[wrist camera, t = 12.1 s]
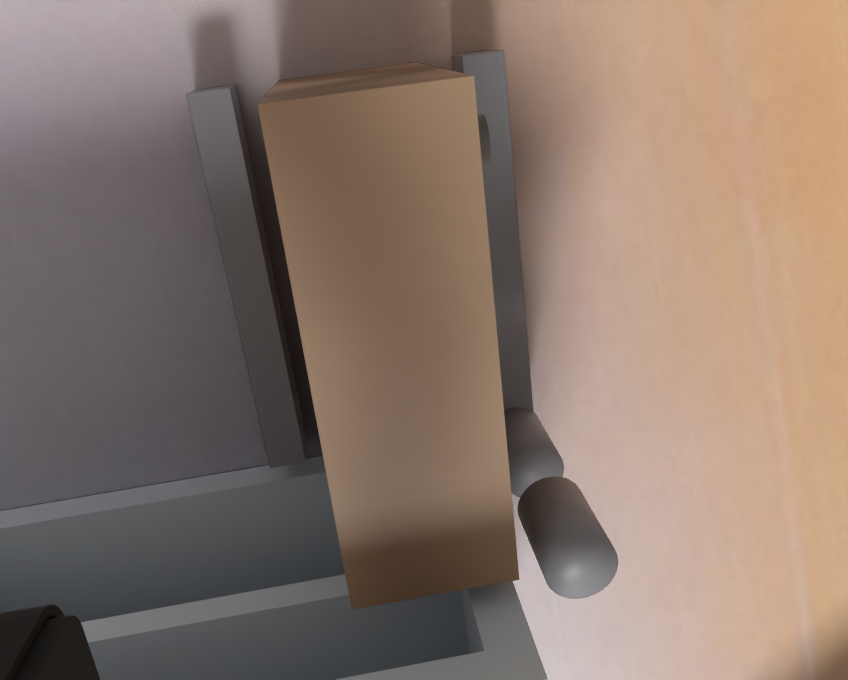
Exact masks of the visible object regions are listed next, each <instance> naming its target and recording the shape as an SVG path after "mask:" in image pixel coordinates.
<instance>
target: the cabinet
mask: <svg viewBox="0 0 848 680" xmlns="http://www.w3.org/2000/svg"><path fill="white" fill-rule="evenodd" d="M452 57H453V66H454V71H456V72H460V73H464V74H469V75H473V76H474V82H475V93H476V104H477V115H480V114H484V116H485V118H486V121H487V124H488V129H489V136H490V148H491V154H490V161H489V163H483V164H482V171H483V182H484V193H485V204H486V215H487V227H488V238H489V249H490V260H491V271H492V282H493V293H494V305H495V316H496V327H497V338H498V349H499V360H500V371H501V383H502V394H503V405H504V416H505V427H506V438H507V449H508V461H509V472H510V483H511V493H513V494H514V495H516V496H518V497H520V500H519V503H518V515H519V518H520V521H521V523H522V525H523V528H524V530H525V533H526V535H527V537H528V540H529V542H530V544H531V547H532V549H533V551H534V554H535V556H536V559H537V561H538V563H539V566H540V568H541V570H542V573H543V575H544V577H545V580H546V582H547V584H548V586H549V587H550V588H551V589H552V590H553V591H554V592H555V593H556V594H558V595H560V596H563V597H566V598H572V599H579V598H585V597H589V596H591V595H594V594H596V593H598V592H599V591H601V590H602V589H604V588H605V587H606V586H607V585H608V584H609V583H610V582H611V580H612V579H613V577H614V575H615V573H616V570H617V566H618V557H617V553H616V551H615V549H614V547H613V546H612V544H611V542H610V540H609V539H608V537H607V535H606V534H605V532H604V530H603V528H602V527H601V525H600V523H599V522H598V520H597V518H596V516H595V515H594V513H593V511H592V510H591V508H590V506H589V504H588V503H587V501H586V499H585V498H584V496H583V494H582V492H581V491H580V489H579V488H578V486H577V485H576V484H575V483H573V482H572V481H570V480H569V479H566V478H563V477H562V476H563V472H564V465H563V461H562V458H561V456H560V455H559V453H558V451H557V450H556V448H555V446H554V444H553V443H552V441H551V439H550V438H549V436H548V434H547V432H546V431H545V429H544V427H543V426H542V424H541V422H540V420H539V419H538V417H537V415H536V414H535V413H534V412H533V403H532V391H531V379H530V366H529V354H528V342H527V330H526V318H525V305H524V293H523V281H522V269H521V257H520V244H519V232H518V220H517V208H516V196H515V183H514V171H513V159H512V147H511V135H510V122H509V110H508V98H507V86H506V73H505V61H504V51H499V50H487V51H480V52H472V53H465V54H458V55H452ZM186 96H187V101H188V105H189V110H190V114H191V119H192V123H193V127H194V132H195V136H196V141H197V145H198V150H199V154H200V159H201V163H202V168H203V172H204V177H205V181H206V186H207V190H208V194H209V199H210V203H211V208H212V212H213V217H214V221H215V226H216V230H217V235H218V239H219V244H220V248H221V253H222V257H223V261H224V266H225V270H226V275H227V279H228V284H229V288H230V293H231V297H232V302H233V306H234V311H235V315H236V320H237V324H238V328H239V333H240V337H241V342H242V346H243V351H244V355H245V360H246V364H247V369H248V373H249V378H250V382H251V387H252V391H253V395H254V400H255V404H256V409H257V413H258V418H259V422H260V427H261V431H262V436H263V440H264V445H265V449H266V453H267V458H268V462H269V465H266V466H261V467H255V468H249V469H243V470H237V471H231V472H225V473H220V474H214V475H208V476H202V477H196V478H190V479H185V480H179V481H173V482H167V483H161V484H155V485H149V486H144V487H138V488H132V489H126V490H120V491H114V492H109V493H103V494H97V495H91V496H85V497H79V498H74V499H68V500H62V501H56V502H50V503H44V504H38V505H33V506H27V507H21V508H15V509H9V510H3V511H0V613H2V612H8V611H14V610H20V609H26V608H32V607H39V606H45V605H51V604H52V605H56V606H58V607H59V608H60V610H61V611H62V612H63V614H64V616H70V615H73V616H76V617H77V618H78V619H79V620H80V622H81V624H82V626H83V629H84V632H85V635H86V638H87V641H88V644H89V647H90V650H91V653H92V656H93V659H94V662H95V665H96V668H97V671H98V674H99V677H100V680H548V679H547V676H546V673H545V670H544V668H543V665H542V662H541V659H540V657H539V654H538V651H537V648H536V645H535V643H534V640H533V637H532V634H531V632H530V629H529V626H528V623H527V620H526V618H525V615H524V612H523V609H522V607H521V604H520V601H519V598H518V595H517V593H516V590H515V587H514V584H513V582H512V581H509V582H503V583H498V584H492V585H487V586H481V587H475V588H470V589H464V590H459V591H453V592H448V593H442V594H437V595H431V596H425V597H420V598H414V599H409V600H403V601H398V602H392V603H386V604H381V605H375V606H370V607H364V608H359V609H353V610H352V609H351V603H350V598H349V593H348V587H347V582H346V577H345V571H344V566H343V560H342V555H341V550H340V544H339V539H338V534H337V528H336V523H335V518H334V512H333V507H332V502H331V496H330V491H329V486H328V480H327V475H326V470H325V464H324V459H323V456H319V457H313V458H307V459H306V438H307V437H306V432H305V427H304V422H303V417H302V412H301V407H300V402H299V397H298V392H297V388H296V383H295V378H294V373H293V368H292V363H291V358H290V353H289V348H288V343H287V338H286V333H285V328H284V323H283V318H282V313H281V308H280V303H279V298H278V293H277V288H276V283H275V278H274V273H273V268H272V263H271V258H270V253H269V248H268V243H267V238H266V233H265V228H264V223H263V219H262V214H261V209H260V204H259V199H258V194H257V189H256V184H255V179H254V174H253V169H252V164H251V159H250V154H249V149H248V144H247V139H246V134H245V129H244V124H243V119H242V114H241V109H240V104H239V99H238V94H237V89H236V85H230V86H223V87H216V88H208V89H201V90H195V91H192V92H190V93H188V94H186Z"/></svg>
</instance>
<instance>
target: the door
mask: <svg viewBox="0 0 848 680" xmlns="http://www.w3.org/2000/svg"><path fill="white" fill-rule="evenodd" d="M257 106H258V111H259V116H260V122H261V127H262V133H263V138H264V143H265V149H266V154H267V159H268V165H269V170H270V175H271V181H272V186H273V191H274V197H275V202H276V207H277V213H278V218H279V223H280V229H281V234H282V240H283V245H284V250H285V256H286V261H287V266H288V272H289V277H290V282H291V288H292V293H293V298H294V304H295V309H296V314H297V320H298V325H299V330H300V336H301V341H302V346H303V352H304V357H305V363H306V368H307V373H308V379H309V384H310V389H311V395H312V400H313V405H314V411H315V416H316V421H317V427H318V432H319V437H320V443H321V448H322V453H323V459H324V464H325V470H326V475H327V480H328V486H329V491H330V496H331V502H332V507H333V512H334V518H335V523H336V528H337V534H338V539H339V544H340V550H341V555H342V560H343V566H344V571H345V577H346V582H347V587H348V593H349V598H350V603H351V609H352V610H353V609H359V608H364V607H370V606H375V605H381V604H386V603H392V602H398V601H403V600H409V599H414V598H420V597H425V596H431V595H437V594H442V593H448V592H453V591H459V590H464V589H470V588H475V587H481V586H487V585H492V584H498V583H503V582H509V581H514V580H519V572H518V561H517V550H516V539H515V527H514V516H513V505H512V494H511V483H510V472H509V461H508V449H507V438H506V427H505V416H504V405H503V394H502V383H501V371H500V360H499V349H498V338H497V327H496V316H495V305H494V293H493V282H492V271H491V260H490V249H489V238H488V227H487V215H486V204H485V193H484V182H483V171H482V164H483V163H489V161H490V154H491V148H490V136H489V129H488V124H487V121H486V118H485V116H484V114H480V115H477V104H476V93H475V82H474V76H473V75H469V74H464V73H460V72H456V71H452V70H447V69H443V68H439V67H434V66H430V65H426V64H422V63H417V62H416V63H409V64H401V65H393V66H385V67H378V68H370V69H362V70H355V71H347V72H339V73H331V74H324V75H316V76H308V77H301V78H293V79H285V80H279V81H278V82H277V83H276V85H275V86H274V87H273V88H272V89H271V90H270V91H269V92H268V93H267V94H266V95H265V96H264V97H263V99H262V100H261V101H260V102H259V103H258V104H257Z"/></svg>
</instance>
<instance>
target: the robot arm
mask: <svg viewBox="0 0 848 680" xmlns="http://www.w3.org/2000/svg"><path fill="white" fill-rule="evenodd" d="M0 680H100V677H99V674H98V671H97V668H96V665H95V662H94V659H93V656H92V653H91V650H90V647H89V644H88V641H87V638H86V635H85V632H84V629H83V626H82V624H81V622H80V620H79V619H78V618H77V617H76V616H73V615H70V616H64V614H63V612H62V611H61V610H60V608H59V607H58V606H56V605H52V604H51V605H45V606H39V607H32V608H26V609H20V610H14V611H8V612H2V613H0Z"/></svg>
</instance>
